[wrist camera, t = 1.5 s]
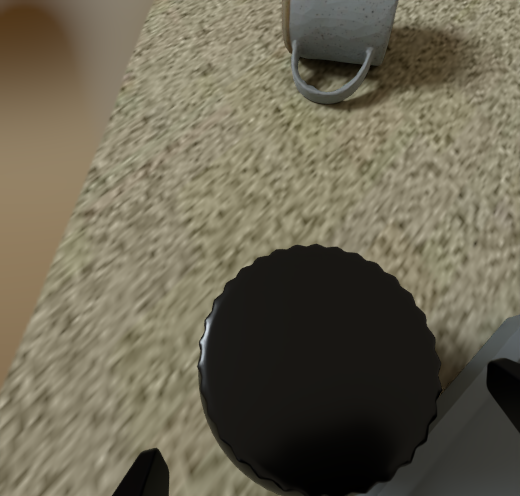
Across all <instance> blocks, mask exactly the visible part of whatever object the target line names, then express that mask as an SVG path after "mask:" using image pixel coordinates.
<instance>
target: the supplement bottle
mask: <svg viewBox="0 0 520 496" xmlns="http://www.w3.org/2000/svg"><path fill="white" fill-rule="evenodd" d="M204 326H205V332H204V334H203V335H202V337H201V339H200V341H199V346H200V350H201V351H200V358H199V362H198V366H197V367H198V370H199V371H198V379H199V391H200V397H201V402H202V406H203V410H204V414H205V416H206V419H207V422H208V425H209V427H210V429H211V431H212V433H213V435H214V437H215V439H216V441H217V442H218V444H219V446H220V447H221V449H222V450H223V451H224V453H225V454H226V456H227V457H228V458H229V459H230V460H231V461H232V462H233V464H234V465H235V466H236V467H237V468H238V469H239V470H240V471H242V472H243V473H244V474H245V475H246V476H247V477H249V478H250V479H251V480H253V481H254V482H255V483H257V484H259V485H260V486H262V487H264V488H265V489H267V490H269V491H271V492H274V493H276V494H278V495H281V496H356V495H359V494H367V493H368V492H369V491H370V490H371V489H372V488H373V487H374V486H376V485H377V484H379V483H385V482H390V481H391V480H392V479H393V477H394V476H395V474H396V472H397V470H398V468H400V467H404V466H407V465H409V464H411V463H412V460H413V458H414V455H415V451H416V449H417V448H418V447H419V446H422V445H423V444H424V443H426V442H427V439H428V431H429V425H430V424H431V423H432V422H433V421H434V420H435V419H436V417H437V404H436V401H437V399H438V397H439V395H440V393H441V391H442V388H441V383H440V380H439V377H438V373H439V370H440V366H441V362H440V360H439V357H438V355H437V353H436V352H435V337H434V335H433V334H432V332H431V331H430V330H429V328H428V327H427V323H426V316H425V314H424V313H423V312H422V311H421V310H420V309H419V308H418V307H417V306H416V304H415V301H414V298H413V296H412V294H411V293H410V292H408V291H407V290H405V289H404V288H402V287H401V286H400V284H399V282H398V280H397V279H396V277H395V276H393V275H391V274H388V273H386V272H384V271H383V269H382V268H381V267H380V266H379V265H378V264H377V263H375V262H371V261H366V260H365V259H364V258H363V257H362V256H360V255H359V254H358V253H351V252H345V251H343V250H342V249H340V248H338V247H328V248H326V247H323V246H321V245H318V244H314V245H310V246H307V247H306V246H301V245H294V246H292V247H291V248H289V249H287V250H286V249H278V250H275V251H274V252H272V253H271V254H270V255H269V256H263V257H258V258H257V259H256V260H255V261H254V263H253V264H252V265H250V266H247V267H244V268H242V269H241V270H240V271H239V273H238V274H237V276H236V278H234V279H232V280H230V281H229V282H227V283H226V285H225V287H224V291H223V293H222V294H221V295H219V296H218V297H217V298H216V299H215V300H214V302H213V307H212V312H211V313H210V314H209V315H208V316H207V318H206V319H205V323H204Z"/></svg>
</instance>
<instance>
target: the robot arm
mask: <svg viewBox="0 0 520 496" xmlns="http://www.w3.org/2000/svg"><path fill="white" fill-rule="evenodd" d="M486 385H487V388H488V391H489V392H490V394H491V395H492V397H493V398H494V399H495V401H496V402H497V404H498V405H499V406H500V408H501V409H502V410H503V412H504V413H505V414H506V416H507V417H508V419H509V420H510V421H511V423H512V424H513V425H514V427H515V428H516V429H517V431H518V432H519V434H520V363H518V362H515V361H513V360H510V359H508V358H499V359H495V360H491V361H489V362H488V364H487V377H486ZM112 496H169V470H168V466H167V464H166V462H165V460H164V458H163V457H162V455H161V453H160V451H159V449H157V448H153V449H149V450H145V451H143V452H141V453H140V454H139V456H138V457H137V459H136V460H135V462H134V463H133V465H132V466H131V468H130V469H129V471H128V472H127V474H126V475H125V477H124V478H123V480H122V481H121V483H120V484H119V486H118V487H117V489H116V490H115V492H114V493H113V495H112Z"/></svg>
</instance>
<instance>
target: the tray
mask: <svg viewBox="0 0 520 496" xmlns="http://www.w3.org/2000/svg"><path fill="white" fill-rule="evenodd" d="M499 358H508V359H510V360H513V361H515V362H518V363H520V315H517V316H513V317H510V318H507V319H506V320H505V321H504V322H503V324H502V325H501V326H500V327H499V328H498V329H497V331H496V332H495V333H494V334H493V335H492V336H491V338H490V339H489V340H488V341H487V342H486V343H485V344H484V346H483V347H482V348H481V349H480V350H479V351H478V353H477V354H476V355H475V356H474V357H473V358H472V360H471V361H470V362H469V363H468V364H467V365H466V367H465V368H464V369H463V370H462V371H461V372H460V374H459V375H458V376H457V377H456V378H455V379H454V380H453V382H452V383H451V384H450V385H449V386H448V387H447V389H446V390H445V391H444V392H443V393H442V394H441V396H440V397H439V398H438V399H437V401H436V404H437V417H436V419H435V420H434V421H433V422H432V423H431V424H430V425H429V431H428V439H427V442H426V443H424V444H423V445H422V446H419V447H418V448H417V449H416V451H415V455H414V458H413V460H412V463H411V464H409V465H407V466H404V467H400V468H398V470H397V472H396V474H395V476H394V477H393V479H392V480H391V481H390V482H385V483H379V484H377V485H376V486H374V487H373V488H372V489H371V490H370V491H369V492H368V493H367V494H359V495H356V496H520V434H519V432H518V431H517V429H516V428H515V427H514V425H513V424H512V423H511V421H510V420H509V419H508V417H507V416H506V414H505V413H504V412H503V410H502V409H501V408H500V406H499V405H498V404H497V402H496V401H495V399H494V398H493V397H492V395H491V394H490V392H489V391H488V388H487V385H486V377H487V364H488V362H489V361H491V360H495V359H499Z"/></svg>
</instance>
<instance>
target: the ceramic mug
mask: <svg viewBox="0 0 520 496" xmlns="http://www.w3.org/2000/svg"><path fill="white" fill-rule="evenodd" d="M397 4H398V0H282V32H283V38H284V43H285V46H286V48H287V50H288V51H289V52H290V53H291V54H292V56H291V63H292V64H291V65H292V74H293V79H294V82H295V85H296V87H297V89H298V91H299V92H300V93H301V94H302V95H303V96H304V97H306V98H307V99H309V100H311V101H313V102H317V103H324V104H333V103H337V102H340V101H343V100H344V99H346V98H348V97H349V96H351V95H352V94H353V93H354V92H355V91H356V90H357V89H358V87H359V86H360V85H361V83H362V82H363V80H364V78H365V76H366V74H367V72H368V70H369V68H370V65H377V66H378V65H381V63H382V62H383V59H384V56H385V52H386V49H387V46H388V42H389V38H390V34H391V30H392V26H393V22H394V18H395V13H396V8H397ZM299 57H303V58H308V59H321V60H331V61H338V62H346V63H354V64H363V66H362V67H361V69H360V70H359V72H358V74H357V75H356V76H355V77H354V78H353V79H352V80H351V81H350V82H348V83H347V84H346V85H344V86H342V87H341V88H340V89H337V90H335V91H333V92H321V91H319V90H317V89H316V88H314V87H313V86H310V85H307V84H306V82H305V81H304V80H302V79H301V77H300V75H299V72H298V61H299Z"/></svg>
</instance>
